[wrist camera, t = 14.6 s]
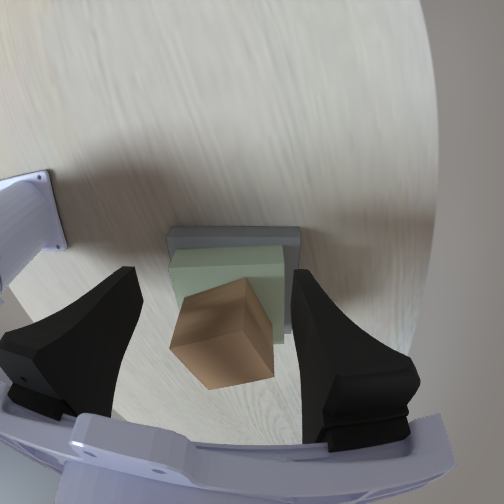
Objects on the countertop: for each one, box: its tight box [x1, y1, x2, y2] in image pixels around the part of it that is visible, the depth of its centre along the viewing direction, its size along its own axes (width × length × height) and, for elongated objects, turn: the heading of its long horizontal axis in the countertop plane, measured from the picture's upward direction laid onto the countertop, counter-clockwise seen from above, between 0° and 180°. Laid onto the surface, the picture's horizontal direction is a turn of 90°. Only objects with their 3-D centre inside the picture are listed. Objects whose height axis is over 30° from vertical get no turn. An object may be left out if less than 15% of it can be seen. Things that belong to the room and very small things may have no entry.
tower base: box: [166, 226, 301, 334], centre depth 25 cm, size 10×10×2 cm
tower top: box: [168, 245, 285, 344], centre depth 23 cm, size 8×8×2 cm
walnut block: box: [169, 277, 274, 390], centre depth 20 cm, size 5×5×5 cm
